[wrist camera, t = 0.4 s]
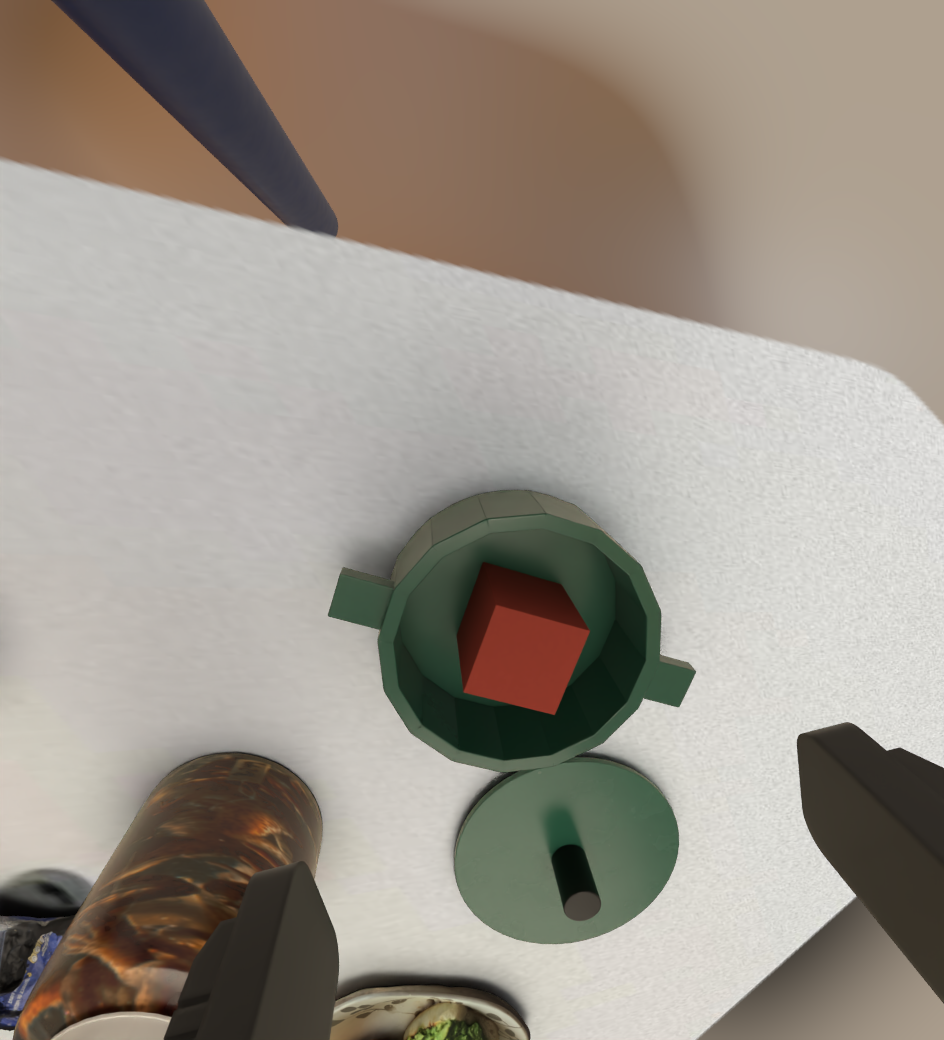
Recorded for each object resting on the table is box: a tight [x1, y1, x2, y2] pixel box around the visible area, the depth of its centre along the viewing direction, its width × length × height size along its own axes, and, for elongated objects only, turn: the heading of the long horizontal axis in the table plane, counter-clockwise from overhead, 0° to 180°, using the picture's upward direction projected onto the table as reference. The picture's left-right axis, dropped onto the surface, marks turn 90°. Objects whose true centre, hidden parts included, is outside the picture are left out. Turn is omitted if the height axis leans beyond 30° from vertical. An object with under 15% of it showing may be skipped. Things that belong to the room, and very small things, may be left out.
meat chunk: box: [457, 562, 590, 715], centre depth 31 cm, size 5×5×6 cm
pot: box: [328, 490, 696, 773], centre depth 32 cm, size 15×20×6 cm
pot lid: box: [454, 757, 679, 944], centre depth 38 cm, size 16×16×5 cm
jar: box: [13, 753, 322, 1040], centre depth 30 cm, size 12×12×15 cm
